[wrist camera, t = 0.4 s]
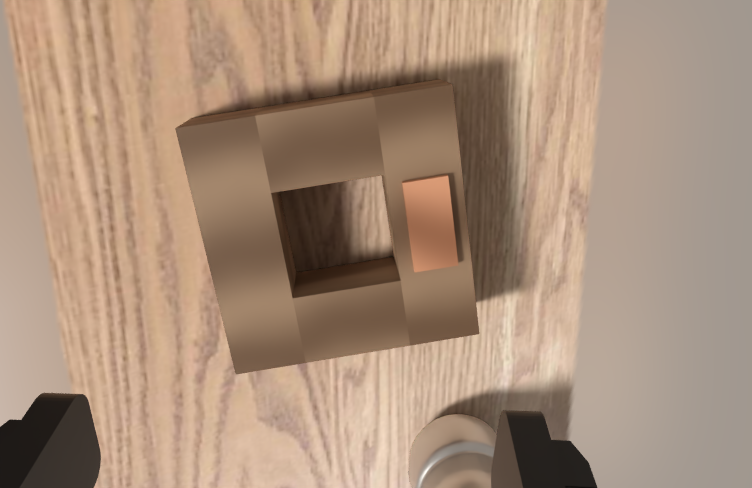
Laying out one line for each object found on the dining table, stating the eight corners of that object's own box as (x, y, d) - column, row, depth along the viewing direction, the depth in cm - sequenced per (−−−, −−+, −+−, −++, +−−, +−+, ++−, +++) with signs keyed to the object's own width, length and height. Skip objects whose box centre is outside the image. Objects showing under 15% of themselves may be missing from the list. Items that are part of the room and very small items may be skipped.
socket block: (191, 118, 36) (173, 129, 32) (439, 79, 36) (454, 85, 32) (244, 342, 40) (234, 377, 36) (465, 305, 41) (480, 337, 36)
